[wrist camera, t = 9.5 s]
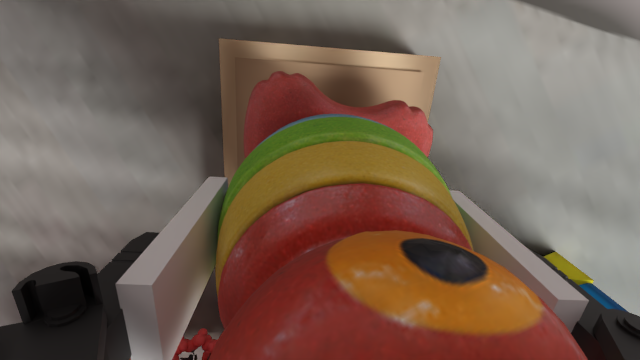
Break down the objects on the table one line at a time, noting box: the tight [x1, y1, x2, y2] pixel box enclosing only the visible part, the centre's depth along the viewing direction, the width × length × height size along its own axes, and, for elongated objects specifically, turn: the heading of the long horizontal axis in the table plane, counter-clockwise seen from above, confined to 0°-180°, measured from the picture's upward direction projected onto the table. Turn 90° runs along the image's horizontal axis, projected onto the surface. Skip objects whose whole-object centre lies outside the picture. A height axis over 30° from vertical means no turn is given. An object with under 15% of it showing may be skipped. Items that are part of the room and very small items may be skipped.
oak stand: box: [219, 38, 441, 187], centre depth 23 cm, size 14×14×4 cm
